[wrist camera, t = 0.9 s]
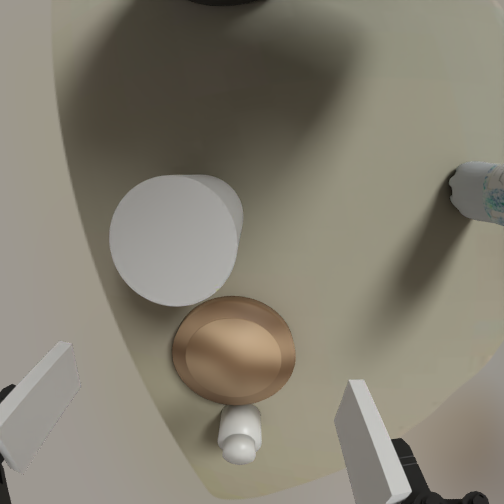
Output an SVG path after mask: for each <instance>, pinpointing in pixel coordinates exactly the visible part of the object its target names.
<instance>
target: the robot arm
mask: <svg viewBox="0 0 504 504" xmlns="http://www.w3.org/2000/svg"><path fill="white" fill-rule="evenodd" d="M190 1H193V2H196V3H200V4H206V5H219V6H224V5H238V4H244V3H249V2H253V1H256V0H190ZM80 388H81V383H80V379H79V374H78V370H77V365H76V360H75V355H74V350H73V345H72V343H68V342H64V341H59V342H58V343H57V344H56V345H55V346H54V347H53V348H52V349H51V350H50V351H49V352H48V353H47V354H46V355H45V356H44V357H43V358H42V359H41V360H40V361H39V362H38V363H37V364H36V366H34V368H33V369H32V370H31V371H30V372H29V373H28V374H27V375H26V376H25V377H24V378H23V380H21V381H20V383H19V384H18V385H17V386H16V385H13V384H11V385H9V386H7V387H6V388H4V389H3V390H2V391H1V392H0V504H11V500H10V496H9V492H8V488H7V483H6V478H5V473H4V468H3V466H2V464H1V463H2V462H3V461H4V460H5V461H6V463H7V464H8V466H9V467H10V468H12V469H13V470H15V471H17V472H19V473H21V474H24V473H25V471H26V469H27V468H28V466H29V465H30V463H31V461H32V460H33V458H34V457H35V455H36V453H37V452H38V450H39V449H40V447H41V446H42V444H43V442H44V441H45V439H46V438H47V436H48V435H49V433H50V432H51V430H52V429H53V427H54V426H55V424H56V423H57V421H58V420H59V418H60V417H61V415H62V414H63V412H64V411H65V409H66V408H67V407H68V405H69V403H70V402H71V401H72V399H73V398H74V396H75V395H76V394H77V392H78V391H79V389H80ZM334 423H335V426H336V430H337V434H338V437H339V441H340V445H341V449H342V452H343V456H344V460H345V464H346V467H347V471H348V475H349V479H350V483H351V487H352V491H353V495H354V499H355V503H356V504H489V502H488V499H487V497H486V496H485V495H484V494H482V493H481V492H477V491H474V492H470V493H468V494H466V495H465V497H463V499H443V498H442V497H441V496H440V495H439V494H437V493H435V492H431V491H430V489H429V488H428V485H427V483H426V481H425V479H424V477H423V474H422V472H421V470H420V468H419V466H418V464H417V461H416V459H415V457H413V453H412V450H411V448H410V446H409V445H408V444H407V443H406V442H405V441H404V440H403V439H402V438H398V439H390V437H389V435H388V432H387V430H386V428H385V426H384V423H383V421H382V419H381V417H380V414H379V412H378V410H377V408H376V405H375V403H374V401H373V399H372V396H371V394H370V392H369V390H368V388H367V386H366V383H365V381H364V380H348V383H347V386H346V389H345V392H344V395H343V398H342V400H341V403H340V406H339V409H338V411H337V414H336V417H335V419H334Z"/></svg>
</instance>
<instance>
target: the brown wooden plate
mask: <svg viewBox="0 0 504 504" xmlns="http://www.w3.org/2000/svg"><path fill="white" fill-rule="evenodd" d="M172 356H173V362H174V365H175V368H176V371H177V372H178V374H179V376H180V377H181V379H182V380H183V382H184V383H185V384H186V385H187V386H188V387H189V388H190V389H191V390H193V391H194V392H195V393H197V394H198V395H200V396H202V397H204V398H206V399H208V400H211V401H213V402H217V403H221V404H226V405H246V404H252V403H256V402H259V401H262V400H264V399H266V398H269V397H270V396H272V395H274V394H275V393H276V392H278V391H279V390H280V389H281V388H282V387H283V386H284V385H285V384H286V382H287V381H288V380H289V378H290V376H291V374H292V372H293V369H294V365H295V347H294V342H293V338H292V335H291V332H290V329H289V327H288V325H287V324H286V322H285V321H284V319H283V318H282V317H281V316H280V315H279V314H278V313H277V312H276V311H275V310H273V309H272V308H271V307H269V306H267V305H266V304H264V303H262V302H259V301H257V300H254V299H251V298H246V297H240V296H225V297H218V298H214V299H211V300H208V301H206V302H204V303H202V304H200V305H198V306H197V307H195V308H194V309H193V310H192V311H190V312H189V314H188V315H187V316H186V317H185V318H184V320H183V321H182V323H181V325H180V327H179V329H178V331H177V334H176V336H175V338H174V342H173V348H172Z"/></svg>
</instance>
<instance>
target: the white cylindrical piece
mask: <svg viewBox="0 0 504 504" xmlns="http://www.w3.org/2000/svg"><path fill="white" fill-rule="evenodd" d="M242 225H243V208H242V204H241V201H240V199H239V197H238V195H237V194H236V192H235V191H234V190H233V188H232V187H231V186H230V185H228V184H227V183H226V182H224V181H223V180H221V179H219V178H217V177H214V176H210V175H164V176H158V177H154V178H150V179H148V180H145V181H143V182H141V183H140V184H138V185H136V186H135V187H134V188H132V189H131V190H130V191H129V192H128V193H127V194H126V195H125V196H124V197H123V199H122V200H121V201H120V203H119V204H118V206H117V208H116V210H115V212H114V215H113V217H112V221H111V225H110V232H109V243H110V250H111V255H112V258H113V261H114V264H115V266H116V268H117V270H118V272H119V274H120V275H121V277H122V278H123V280H124V281H125V282H126V283H127V284H128V285H129V286H130V287H131V288H132V289H133V290H134V291H135V292H136V293H138V294H139V295H141V296H142V297H144V298H146V299H148V300H150V301H152V302H155V303H158V304H161V305H166V306H187V305H192V304H195V303H198V302H201V301H203V300H205V299H207V298H208V297H210V296H211V295H213V294H214V293H215V292H216V291H218V290H219V289H220V288H221V287H222V285H223V284H224V283H225V282H226V280H227V279H228V277H229V275H230V273H231V271H232V269H233V267H234V263H235V260H236V255H237V250H238V245H239V240H240V235H241V230H242Z"/></svg>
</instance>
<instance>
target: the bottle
mask: <svg viewBox="0 0 504 504" xmlns="http://www.w3.org/2000/svg"><path fill="white" fill-rule="evenodd" d="M449 185H450V186H451V187H452V195H451V196H450V200H451V202H452V204H453V205H454V206H455V207H456V208H457V209H458V210H459V212H460V213H461V214H462V215H463V216H465V217H467V218H470V219H474V220H478V221H485V222H491V223H496V224H499V225H502V226H504V164H493V163H486V162H478V161H473V162H467V163H463V164H461V165H459V166H458V167H457V168H456V173H455V175H454V176H453V177H451V178H450V180H449Z"/></svg>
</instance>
